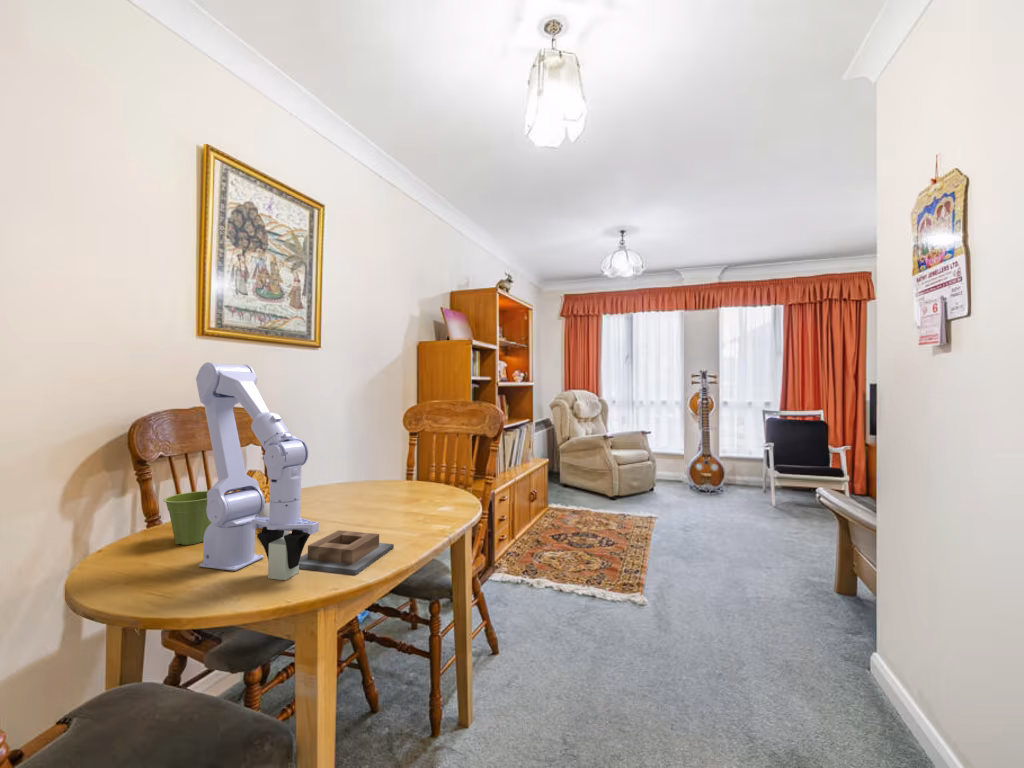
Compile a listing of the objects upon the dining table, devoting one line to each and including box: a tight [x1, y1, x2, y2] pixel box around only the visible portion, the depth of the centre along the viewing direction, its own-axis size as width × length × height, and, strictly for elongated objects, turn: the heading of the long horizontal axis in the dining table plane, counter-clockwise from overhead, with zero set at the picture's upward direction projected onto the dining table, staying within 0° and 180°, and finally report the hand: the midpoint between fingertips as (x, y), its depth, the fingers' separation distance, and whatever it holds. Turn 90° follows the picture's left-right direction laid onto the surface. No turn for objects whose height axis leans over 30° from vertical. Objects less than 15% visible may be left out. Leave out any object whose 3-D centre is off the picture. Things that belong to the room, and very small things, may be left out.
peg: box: [267, 537, 300, 581], centre depth 90 cm, size 4×4×7 cm
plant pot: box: [163, 490, 211, 546], centre depth 110 cm, size 12×12×11 cm
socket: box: [299, 529, 395, 576], centre depth 100 cm, size 16×16×4 cm
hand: (283, 565), depth 90 cm, fingers closed on peg, 4 cm apart
